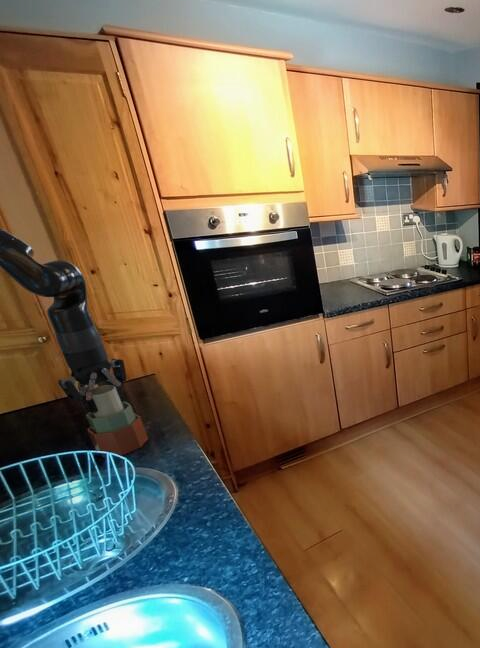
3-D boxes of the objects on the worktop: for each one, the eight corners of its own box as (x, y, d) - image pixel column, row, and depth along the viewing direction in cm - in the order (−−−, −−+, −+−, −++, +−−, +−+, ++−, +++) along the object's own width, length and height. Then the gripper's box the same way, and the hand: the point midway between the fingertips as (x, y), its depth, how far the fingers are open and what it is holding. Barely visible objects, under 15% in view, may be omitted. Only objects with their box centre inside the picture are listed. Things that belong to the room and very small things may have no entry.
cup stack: (108, 461, 114) (92, 424, 110) (92, 448, 119) (76, 413, 115) (153, 441, 122) (140, 406, 118) (137, 430, 127) (123, 396, 122)
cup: (103, 429, 114) (90, 398, 110) (94, 422, 116) (81, 392, 113) (131, 418, 118) (119, 388, 114) (121, 412, 121) (109, 382, 117)
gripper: (99, 333, 116) (122, 391, 123) (35, 355, 103) (64, 418, 110) (123, 335, 114) (144, 393, 121) (61, 358, 102) (88, 422, 108)
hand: (106, 405), depth 115 cm, fingers closed on cup, 5 cm apart
